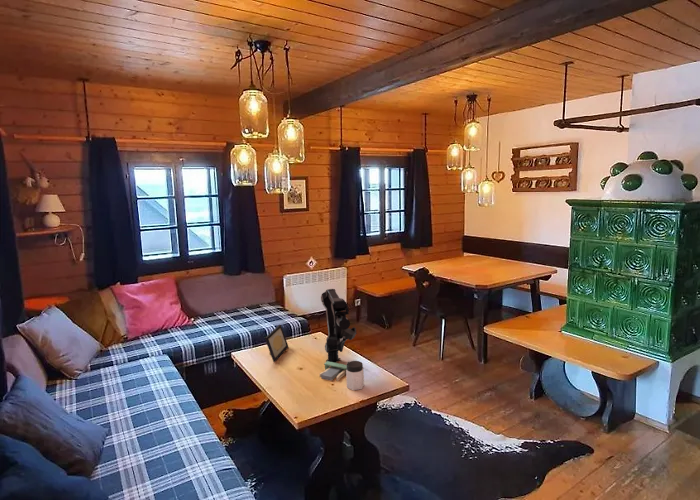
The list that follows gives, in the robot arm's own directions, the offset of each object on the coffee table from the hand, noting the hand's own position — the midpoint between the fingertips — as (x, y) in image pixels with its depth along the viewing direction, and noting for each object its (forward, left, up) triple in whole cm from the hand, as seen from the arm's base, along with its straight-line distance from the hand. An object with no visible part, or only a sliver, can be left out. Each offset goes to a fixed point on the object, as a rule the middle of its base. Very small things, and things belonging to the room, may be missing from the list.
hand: (341, 351), depth 232 cm
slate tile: (+2, -5, -14) cm, 15 cm away
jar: (+9, +13, -13) cm, 20 cm away
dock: (+2, -4, -13) cm, 14 cm away
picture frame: (-8, -52, -13) cm, 54 cm away
